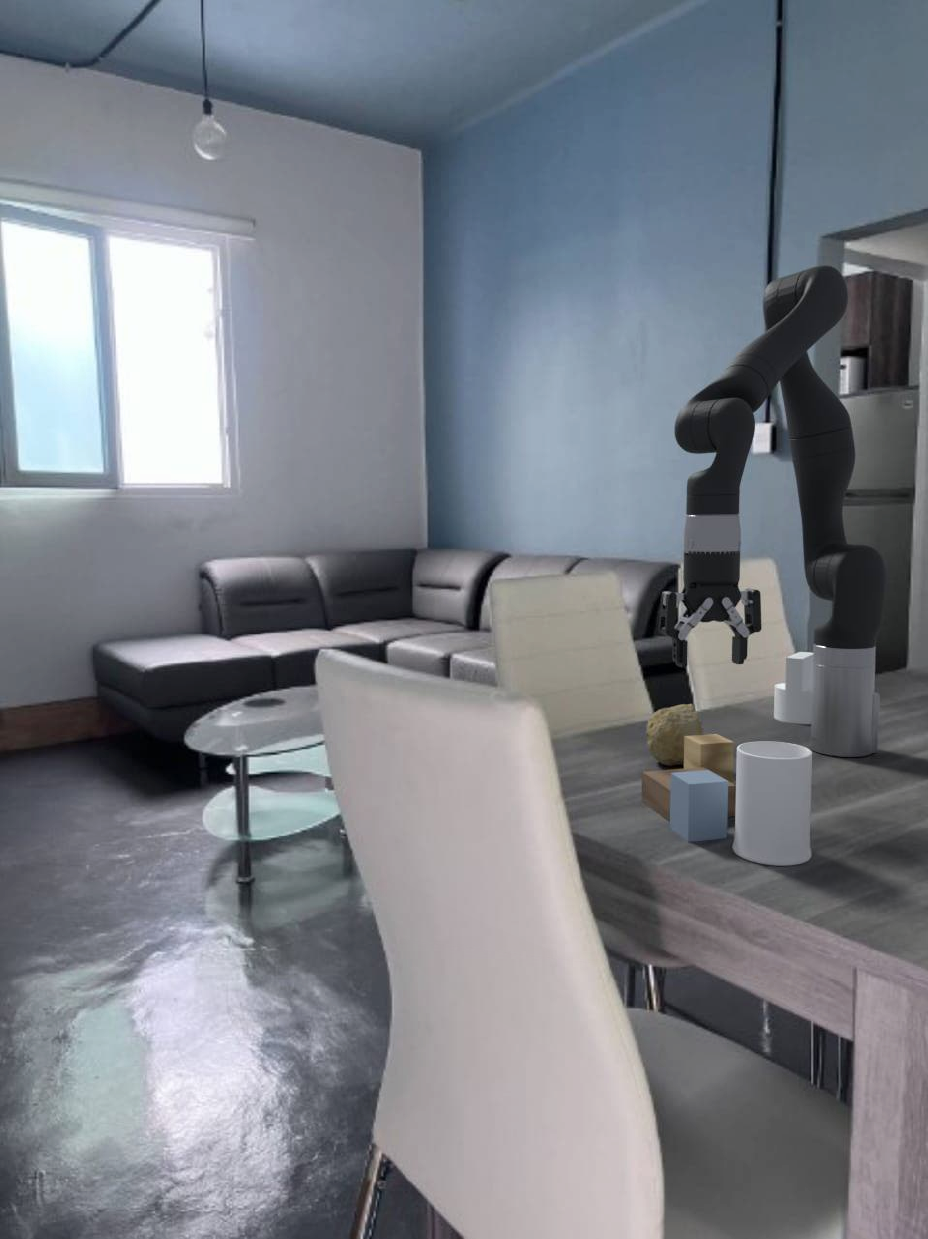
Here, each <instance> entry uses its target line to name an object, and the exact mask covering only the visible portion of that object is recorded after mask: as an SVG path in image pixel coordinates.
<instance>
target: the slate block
mask: <svg viewBox="0 0 928 1239" xmlns="http://www.w3.org/2000/svg"><path fill="white" fill-rule="evenodd" d="M727 810H728V781H727V780H725V779H723V778H721V777H720V776H718V775H716V774H714V773H713V772H711V771H709V770H702V771H689V772H676V773H671V779H670V821H669V829H670V830H672V831H673V832H674V833H676V834H677V836H679V837H681V838H682V839H683V840H685V841H686V842H687V843H690V842H691V843H692V842H701V841H702V842H703V841H710V840H722V839H728V817H727Z"/></svg>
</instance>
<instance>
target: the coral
mask: <svg viewBox="0 0 928 1239" xmlns="http://www.w3.org/2000/svg"><path fill="white" fill-rule="evenodd" d="M645 733H646V740H647V743H646V745H647V747H648V748H649V753H650V754H651V756H653V758H655V760H656V761H658V762H659V763H660V764H663V765H665V766H668V767H673V766H678V765H680V766H681V765H683V766H684V736H693V735H704V727H702V719H701V717H700V715H699V713H698V711H697V710H696V707H695V706H694V704H693V703H688V704H685V703H683V704H678V705H674V706H670V707H663V708H660V709H657V711H654V712H653V713H652V714H651V716H649V719H648V720H647V724H646V727H645Z"/></svg>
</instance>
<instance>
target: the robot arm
mask: <svg viewBox="0 0 928 1239" xmlns="http://www.w3.org/2000/svg"><path fill="white" fill-rule="evenodd" d="M763 292H764V293H763V297H762V299H763V300H762V312H763V317H764V325H765V329H766V331H765V332H764V333H762V334H761V335H759V336H758V337H756V338H755V339H753V340H752V341H751V342H750V343H748V344H747V345H746V346H745V347H743V348H742V349H741V350H740V352H739V353H738V354H737V355H736V356H735V357H734V358H733V359H732V361H731V363H729V364H728V366H727V368H725V370H724V371H723V373H722V374H721V375H720V376H719V377H718V378H717V379H715V380H714V381H712V382H710V383H709V384H708V385H707V386H705V387H704V388H702V389H701V390H700V391H699V392H697V393H696V394H695V395H693V396H692V397H691V398H690V399H688V400H687V402H686V403H685V404H683V406H682V408H680V411H679V412H678V414H677V416H676V419H675V422H674V438H675V441H676V443H677V445H678V446H679V447H680V448H681V449H682V450H683V451H685V452H687V453H688V454H695V455H696V454H697V455H699V454H700V455H701V454H703V455H704V454H713V453H714V454H715V457H714V459H713V461H712V463H711V465H710V466H709V467H707V468H705V469H703V470H700V471H697V472H693V473H692V474H691V475H690V476H689V477H688V479H687V481H686V482H687V483H686V506H685V508H686V509H685V510H686V511H685V512H686V513H685V514H686V516H685V523H684V530H683V534H684V535H683V572H682V574H683V575H682V576H683V578H682V579H683V580H682V581H683V589H682V590H681V592H673V591H669V590H668V591H667V590H664V591H662V593H661V594H660V607H659V621H658V632H659V633H660V634H662V635H664V636H667V637H669V638H671V640H672V647H671V648H672V649H671V650H672V654H671V655H672V658H671V659H672V662H673V663H675V665H676V667H680V668H686V667H687V666H688V644H689V643H688V641H689V640H686V638H687V637H688V636H689V635H690V633H691V631H692V630H693V629H695V628H696V627H697V626H698V624H699V623H700V622H701V623H710V622H713V621H714V622H717V623H724V624H726V626H728V628H729V629H730V630H731V632H732V633H733V635H734V636H731V642H732V643H731V662H732V663H733V664H735V665H743V664H744V662H745V661H746V660H747V658H748V644H749V643H748V639H749V636H750V635H753V634H755V633H760V632H761V631H762V601H761V600H762V597H761V596H762V595H761V591H760V590H758V589H755V588H745V589H744V590H740V588H739V582H740V578H741V577H740V574H741V546H742V540H741V538H742V537H741V532H742V531H741V524H740V497H741V496H740V494H741V493H740V491H741V482H742V479H743V475H744V471H745V468H746V464H747V461H748V457H749V453H750V450H751V447H752V443H753V440H754V436H755V431H756V419H755V414H754V413H755V412H757V411H758V410H759V409H760V408H761V407H762V405H763V404H764V403H765V401H766V400H767V399H768V397H770V394H771V393H772V392H773V390H774V389H775V387H776V386H777V385H778V383H779V384H780V389H781V395H782V401H783V406H784V413H785V419H786V427H787V435H788V442H789V450H790V455H791V460H792V465H793V470H794V475H795V481H796V489H797V494H798V496H797V497H798V504H799V510H800V518H801V531H802V548H803V549H802V551H803V552H802V553H803V566H804V567H803V568H804V575H805V579H806V582H807V585H808V587H809V590H810V592H811V593H813V595H815V597H817V598H819V599H822V600H825V601H831V602H833V605H832V612H831V616H830V617H829V619H828V620H827V621H825V622H823V623H821V624H818V625H817V626H816V627H815V628H814V631H813V651H812V653H813V684H812V717H811V724H810V725H811V726H810V750H811V751H814V752H815V753H819V754H823V755H828V756H834V757H847V758H857V757H865V756H870V755H871V754H873V753H878V749H879V724H880V722H879V720H880V703H881V702H880V699H881V698H880V693H878V692H875V679H876V678H875V677H876V675H875V674H876V650H877V649H876V648H877V647H876V645H877V638H878V635H879V632H880V631H881V627H882V624H883V619H884V618H883V617H884V608H885V598H886V588H887V586H886V584H887V570H886V564H885V562H884V558H883V556H882V555H881V553H880V552H879V550H877V549H875V548H874V547H872V546H869V545H866V544H852V543H851V544H848V542H847V538H846V533H845V527H844V518H843V511H844V510H843V509H844V502H845V498H846V494H847V491H848V488H849V486H850V482H851V479H852V476H853V472H854V469H855V463H856V447H855V441H854V433H853V432H854V431H853V427H852V420H851V416H850V414H849V411H848V409H847V408H846V407H845V406H846V405H844V404H843V402H842V401H841V400H840V399H839V397H838V396H837V395H836V394H835V393H834V391H833V390H832V389H831V388H830V387H829V386H828V385H827V384H826V383H825V381H823V380H822V378H821V377H820V376H819V375H818V373H817V371H816V370H815V369H814V367H813V364H812V363H811V359H810V357H809V353H808V351H809V349H811V348H812V347H813V346H814V345H815V344H816V343H817V342H818V341H819V340H820V339H822V338H823V337H824V336H825V335H826V334H827V333H829V331H831V330H832V329H833V328H834V327H835V326H836V325H838V323H839V322H840V321H841V320H842V318H843V317H844V315H845V313H846V310H847V307H848V302H849V301H848V300H849V296H848V295H849V294H848V293H849V292H848V287H847V284H846V280H845V278H844V277H843V275H842V274H841V272H840V271H839V269H838V268H836V267H833V266H830V265H819V266H814V267H810V268H806V269H803V270H802V271H797V272H794V273H792V274H789V275H785V276H782V277H779V278H777V279H774V280H773V281H770V282H769V283H768V284H767V286H766V287H765V290H764V291H763ZM740 601H741V605H743V606H744V607H743V608H744V609H743V610H744V615H743V616H744V619H743V617H741V615H740V613H739V611H738V610H737V609H736V607H737V606H738V604H739V602H740ZM680 603H682V604H683V606H684V607H685V609H684V610H683V612H682V614H680V616H679V618H678V620H677V623H676V617H677V616H676V614H677V613H676V612H677V608H679V607H680Z"/></svg>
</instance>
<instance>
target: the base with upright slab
mask: <svg viewBox="0 0 928 1239" xmlns="http://www.w3.org/2000/svg"><path fill="white" fill-rule="evenodd" d="M784 678H785V680H784V681H785V682H782V683H778V684H775V685H774V700H773V701H774V703H773V704H774V705H773V718H774V719H775V720H776V721H779V722H783V723H788V724H790V723H791V724H800V725H811V717H812V684H813V652H810V651H809V652H807V651H797V652H796V653H793V654H791V655H789V656H786V657H785V677H784Z"/></svg>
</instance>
